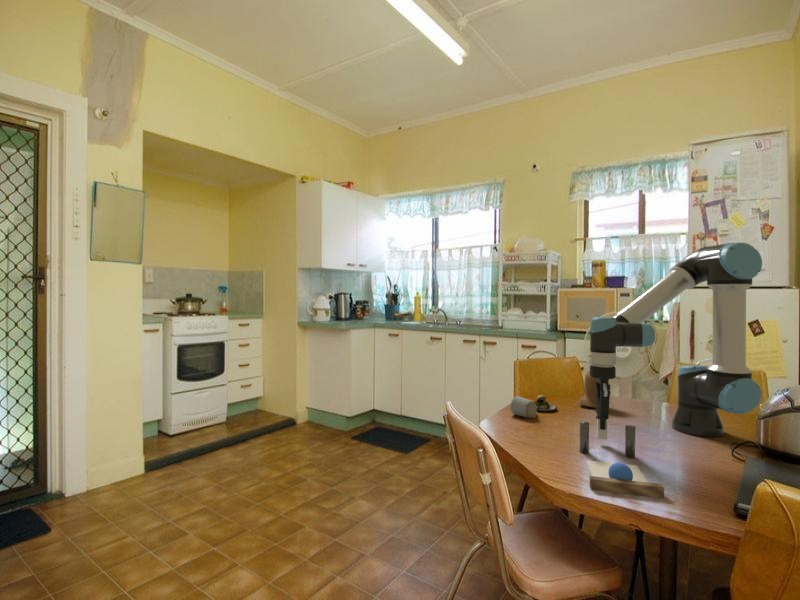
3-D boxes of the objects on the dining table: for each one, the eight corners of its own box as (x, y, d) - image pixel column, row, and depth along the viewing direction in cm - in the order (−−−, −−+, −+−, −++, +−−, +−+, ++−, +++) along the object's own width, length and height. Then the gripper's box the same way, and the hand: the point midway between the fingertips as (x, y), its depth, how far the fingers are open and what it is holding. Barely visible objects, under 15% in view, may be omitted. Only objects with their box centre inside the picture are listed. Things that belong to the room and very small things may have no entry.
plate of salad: (528, 412, 177) (529, 394, 177) (525, 405, 189) (526, 388, 189) (559, 414, 175) (559, 396, 175) (554, 407, 187) (554, 389, 186)
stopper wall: (661, 494, 104) (661, 484, 104) (664, 498, 102) (664, 487, 102) (589, 485, 108) (589, 475, 108) (590, 489, 106) (590, 479, 106)
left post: (588, 450, 133) (588, 421, 133) (589, 453, 130) (589, 424, 130) (579, 450, 133) (579, 421, 133) (580, 453, 131) (580, 423, 131)
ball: (629, 469, 112) (630, 458, 108) (634, 490, 108) (636, 479, 104) (605, 469, 113) (606, 458, 110) (610, 489, 109) (611, 478, 106)
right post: (633, 455, 129) (634, 425, 129) (636, 458, 127) (636, 428, 127) (624, 454, 130) (624, 424, 130) (626, 457, 127) (626, 427, 127)
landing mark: (637, 466, 121) (637, 465, 121) (649, 485, 109) (649, 484, 109) (586, 460, 125) (586, 460, 125) (593, 479, 112) (593, 478, 112)
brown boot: (606, 411, 178) (606, 375, 178) (575, 407, 185) (576, 372, 185) (612, 403, 191) (612, 370, 191) (583, 400, 198) (583, 367, 198)
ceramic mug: (527, 420, 165) (527, 401, 165) (509, 415, 172) (510, 397, 172) (542, 416, 172) (542, 397, 172) (525, 411, 178) (525, 394, 178)
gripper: (587, 361, 146) (586, 431, 146) (592, 367, 133) (592, 444, 133) (611, 362, 144) (611, 433, 144) (619, 369, 131) (618, 446, 131)
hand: (601, 438), depth 139 cm, fingers closed
